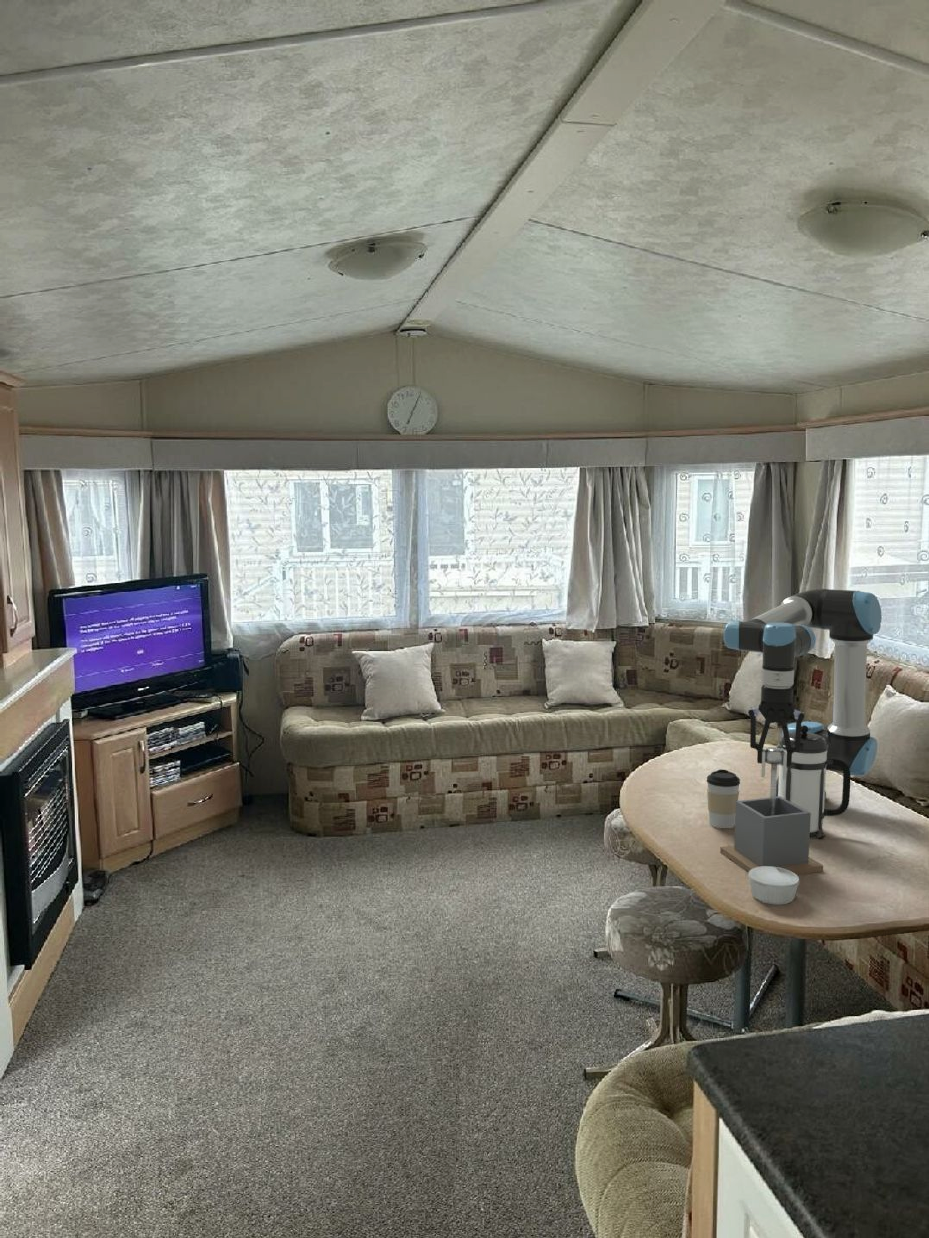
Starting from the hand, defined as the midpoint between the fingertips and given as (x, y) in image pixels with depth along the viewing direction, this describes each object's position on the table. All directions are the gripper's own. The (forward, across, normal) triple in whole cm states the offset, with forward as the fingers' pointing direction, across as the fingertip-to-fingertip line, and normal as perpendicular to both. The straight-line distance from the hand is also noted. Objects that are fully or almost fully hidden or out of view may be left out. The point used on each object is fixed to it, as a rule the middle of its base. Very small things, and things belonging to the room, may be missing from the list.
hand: (773, 776), depth 241 cm
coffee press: (+23, +8, +25) cm, 35 cm away
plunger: (+15, 0, 0) cm, 15 cm away
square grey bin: (+22, 0, 0) cm, 22 cm away
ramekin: (+23, +1, -21) cm, 31 cm away
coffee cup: (+23, -14, +23) cm, 35 cm away
